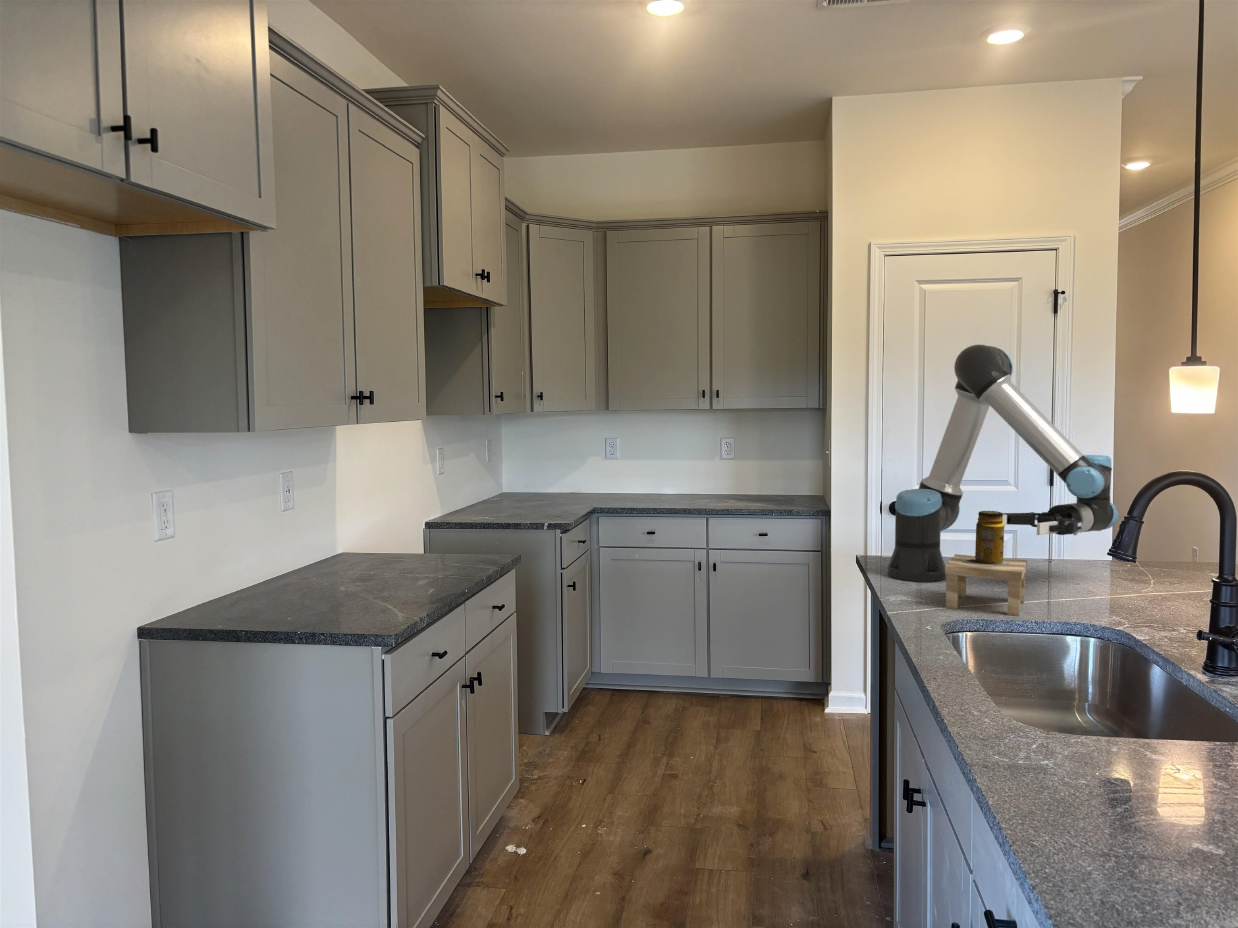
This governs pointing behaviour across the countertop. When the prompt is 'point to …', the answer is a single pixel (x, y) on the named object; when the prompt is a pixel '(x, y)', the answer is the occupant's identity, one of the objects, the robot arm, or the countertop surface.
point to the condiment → (989, 539)
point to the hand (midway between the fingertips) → (1012, 525)
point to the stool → (1009, 571)
